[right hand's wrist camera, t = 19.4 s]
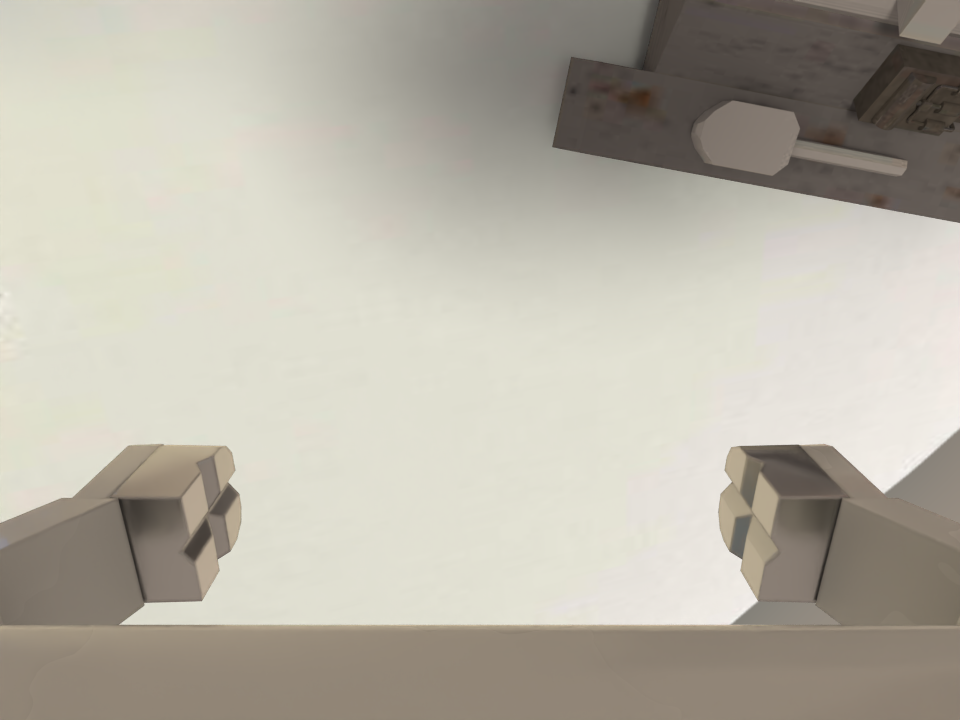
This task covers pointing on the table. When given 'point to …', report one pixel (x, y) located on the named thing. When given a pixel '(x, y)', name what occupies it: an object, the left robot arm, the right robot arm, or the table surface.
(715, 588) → the table surface
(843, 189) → the toy
